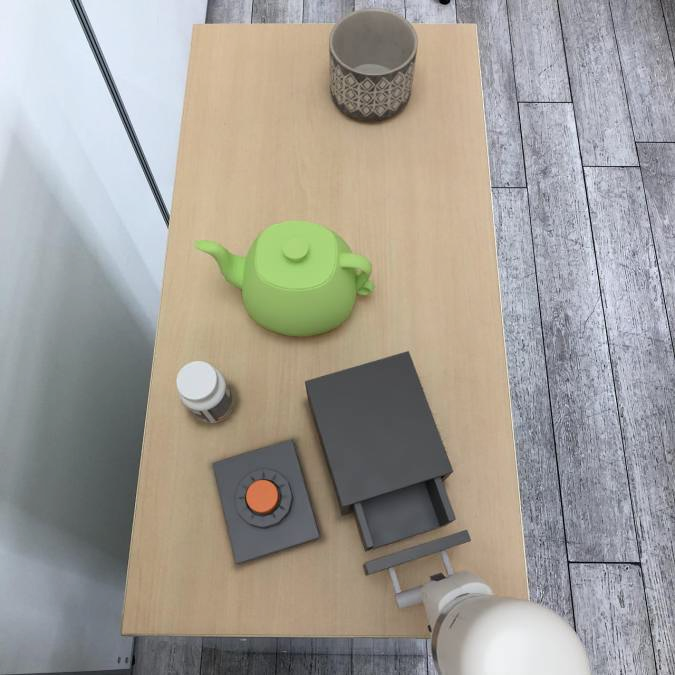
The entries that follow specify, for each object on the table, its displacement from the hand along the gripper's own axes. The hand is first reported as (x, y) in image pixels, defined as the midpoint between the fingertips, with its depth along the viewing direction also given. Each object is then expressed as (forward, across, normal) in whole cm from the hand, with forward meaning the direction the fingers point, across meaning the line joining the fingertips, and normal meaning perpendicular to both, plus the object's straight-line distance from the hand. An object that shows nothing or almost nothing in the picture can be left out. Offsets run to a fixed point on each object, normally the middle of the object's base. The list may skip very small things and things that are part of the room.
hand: (444, 628), depth 63 cm
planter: (+10, +74, -17) cm, 77 cm away
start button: (+5, +18, +14) cm, 24 cm away
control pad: (+9, +18, +14) cm, 25 cm away
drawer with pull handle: (+8, +12, 0) cm, 14 cm away
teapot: (+10, +44, +4) cm, 46 cm away
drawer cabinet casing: (+9, +21, 0) cm, 23 cm away
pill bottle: (+9, +32, +18) cm, 38 cm away
